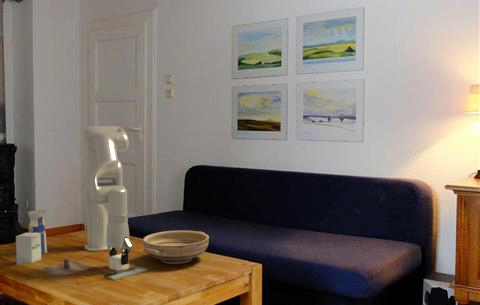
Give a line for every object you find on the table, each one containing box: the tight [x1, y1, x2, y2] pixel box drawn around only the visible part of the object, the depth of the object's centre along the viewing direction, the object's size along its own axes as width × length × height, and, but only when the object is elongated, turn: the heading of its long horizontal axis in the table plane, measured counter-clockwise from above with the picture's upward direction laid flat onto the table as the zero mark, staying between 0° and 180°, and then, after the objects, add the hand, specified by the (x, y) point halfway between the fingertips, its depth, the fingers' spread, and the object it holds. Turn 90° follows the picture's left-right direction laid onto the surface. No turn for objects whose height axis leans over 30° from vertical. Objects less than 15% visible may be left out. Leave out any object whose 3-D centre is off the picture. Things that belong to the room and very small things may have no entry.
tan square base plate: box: [39, 258, 96, 277], centre depth 205 cm, size 16×16×5 cm
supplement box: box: [15, 232, 42, 266], centre depth 218 cm, size 7×7×13 cm
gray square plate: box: [103, 266, 148, 281], centre depth 205 cm, size 16×16×1 cm
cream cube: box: [108, 253, 130, 273], centre depth 205 cm, size 6×6×6 cm
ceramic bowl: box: [142, 230, 210, 265], centre depth 221 cm, size 37×29×10 cm
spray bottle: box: [26, 199, 48, 255], centre depth 235 cm, size 8×9×25 cm
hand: (119, 262), depth 205 cm, fingers open, 7 cm apart
